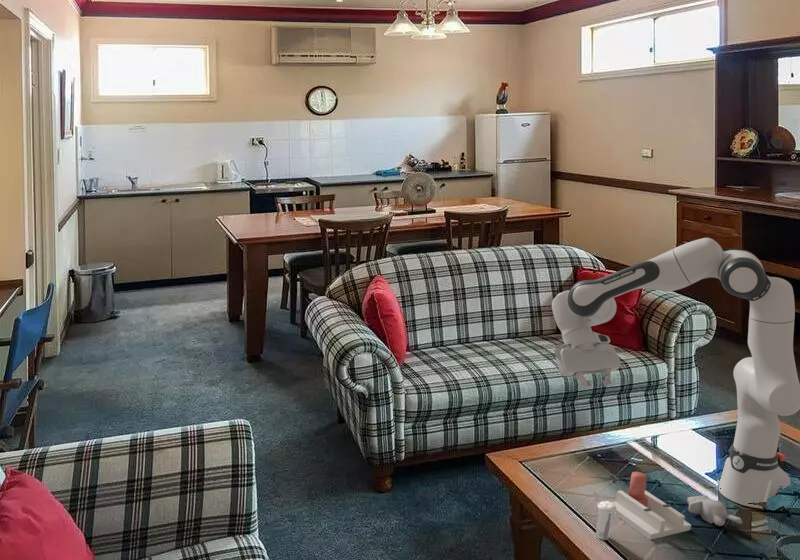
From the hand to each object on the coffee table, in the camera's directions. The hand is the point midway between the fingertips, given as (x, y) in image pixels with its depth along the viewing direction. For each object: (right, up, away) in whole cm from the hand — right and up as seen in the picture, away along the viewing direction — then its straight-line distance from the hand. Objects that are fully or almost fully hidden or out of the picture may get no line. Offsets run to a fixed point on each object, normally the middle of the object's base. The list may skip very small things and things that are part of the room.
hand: (598, 386), depth 212 cm
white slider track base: (+9, -33, -16) cm, 37 cm away
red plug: (+7, -30, -12) cm, 32 cm away
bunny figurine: (+26, -34, -13) cm, 45 cm away
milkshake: (-6, -34, -26) cm, 43 cm away
